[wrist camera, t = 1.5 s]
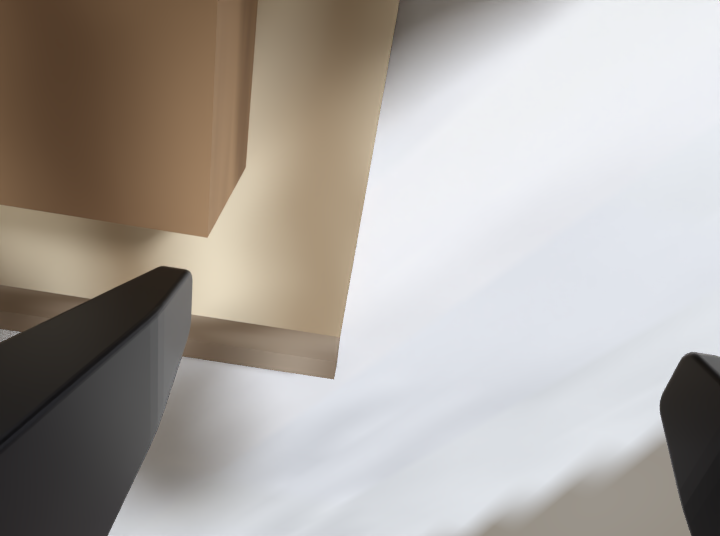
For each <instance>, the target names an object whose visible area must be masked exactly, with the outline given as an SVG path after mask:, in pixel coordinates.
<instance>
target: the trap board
mask: <svg viewBox="0 0 720 536" xmlns="http://www.w3.org/2000/svg"><path fill="white" fill-rule="evenodd" d="M399 2H400V0H258V7H257V20H256V34H255V48H254V62H253V76H252V90H251V103H250V117H249V131H248V145H247V159H246V168H245V170H244V172H243V174H242V176H241V177H240V179H239V181H238V183H237V185H236V187H235V188H234V190H233V192H232V194H231V196H230V198H229V199H228V201H227V203H226V205H225V207H224V209H223V210H222V212H221V214H220V216H219V218H218V220H217V221H216V223H215V225H214V227H213V229H212V231H211V233H210V234H209V236H208V238H206V237H199V236H193V235H187V234H181V233H174V232H168V231H162V230H155V229H149V228H143V227H137V226H130V225H124V224H118V223H112V222H105V221H99V220H93V219H87V218H80V217H74V216H68V215H62V214H55V213H49V212H43V211H37V210H30V209H24V208H18V207H12V206H5V205H0V329H6V330H12V331H19V332H23V331H25V330H27V329H29V328H31V327H34V326H36V325H38V324H40V323H42V322H44V321H46V320H48V319H50V318H52V317H54V316H57V315H59V314H61V313H63V312H65V311H67V310H69V309H71V308H73V307H75V306H77V305H80V304H82V303H84V302H86V301H88V300H90V299H92V298H94V297H96V296H98V295H100V294H103V293H105V292H107V291H109V290H111V289H113V288H115V287H117V286H119V285H121V284H123V283H126V282H128V281H130V280H132V279H134V278H136V277H138V276H140V275H142V274H144V273H146V272H148V271H151V270H153V269H155V268H157V267H160V266H168V267H175V268H181V269H186V270H189V271H190V272H191V274H192V279H193V284H192V311H191V326H190V331H189V335H188V339H187V342H186V345H185V348H184V351H183V354H182V356H184V357H191V358H197V359H204V360H210V361H217V362H224V363H230V364H237V365H243V366H250V367H257V368H263V369H270V370H276V371H283V372H289V373H296V374H303V375H309V376H316V377H322V378H329V379H334V376H335V370H336V365H337V358H338V349H339V341H340V334H341V328H342V323H343V317H344V311H345V306H346V300H347V294H348V289H349V283H350V278H351V272H352V266H353V261H354V255H355V249H356V244H357V238H358V232H359V227H360V221H361V216H362V210H363V204H364V199H365V193H366V187H367V182H368V176H369V170H370V165H371V159H372V154H373V148H374V142H375V137H376V131H377V125H378V120H379V114H380V109H381V103H382V97H383V92H384V86H385V80H386V75H387V69H388V63H389V58H390V52H391V47H392V41H393V35H394V30H395V24H396V18H397V13H398V7H399Z"/></svg>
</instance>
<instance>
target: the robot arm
mask: <svg viewBox="0 0 720 536" xmlns="http://www.w3.org/2000/svg"><path fill="white" fill-rule="evenodd" d="M192 284H193V279H192V274H191V272H190V271H189V270H186V269H181V268H175V267H168V266H160V267H157V268H155V269H153V270H151V271H148V272H146V273H144V274H142V275H140V276H138V277H136V278H134V279H132V280H130V281H128V282H126V283H123V284H121V285H119V286H117V287H115V288H113V289H111V290H109V291H107V292H105V293H103V294H100V295H98V296H96V297H94V298H92V299H90V300H88V301H86V302H84V303H82V304H80V305H77V306H75V307H73V308H71V309H69V310H67V311H65V312H63V313H61V314H59V315H57V316H54V317H52V318H50V319H48V320H46V321H44V322H42V323H40V324H38V325H36V326H34V327H31V328H29V329H27V330H25V331H23V332H21V333H19V334H17V335H15V336H13V337H11V338H8V339H6V340H4V341H2V342H0V536H108V534H109V532H110V530H111V528H112V526H113V523H114V521H115V519H116V517H117V515H118V513H119V511H120V509H121V507H122V504H123V502H124V500H125V498H126V496H127V494H128V492H129V490H130V488H131V485H132V483H133V481H134V479H135V477H136V475H137V473H138V471H139V469H140V467H141V464H142V462H143V460H144V458H145V456H146V454H147V452H148V450H149V448H150V445H151V443H152V441H153V439H154V436H155V434H156V432H157V429H158V427H159V424H160V421H161V418H162V415H163V412H164V409H165V406H166V403H167V400H168V397H169V394H170V391H171V388H172V385H173V382H174V379H175V376H176V373H177V370H178V366H179V363H180V360H181V357H182V354H183V351H184V348H185V345H186V342H187V339H188V335H189V331H190V326H191V311H192ZM660 415H661V419H662V423H663V428H664V432H665V437H666V441H667V445H668V450H669V454H670V458H671V463H672V467H673V471H674V476H675V480H676V485H677V488H678V493H679V497H680V501H681V505H682V508H683V512H684V515H685V518H686V521H687V524H688V527H689V530H690V533H691V536H720V357H718V356H715V355H709V354H703V353H697V352H690V353H687V354H686V355H684V356H683V357H682V359H681V360H680V362H679V364H678V366H677V367H676V369H675V371H674V373H673V375H672V377H671V379H670V380H669V382H668V384H667V386H666V388H665V390H664V392H663V394H662V396H661V400H660Z"/></svg>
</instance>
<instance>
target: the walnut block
mask: <svg viewBox="0 0 720 536" xmlns="http://www.w3.org/2000/svg"><path fill="white" fill-rule="evenodd" d="M257 7H258V0H0V205H5V206H12V207H18V208H24V209H30V210H37V211H43V212H49V213H55V214H62V215H68V216H74V217H80V218H87V219H93V220H99V221H105V222H112V223H118V224H124V225H130V226H137V227H143V228H149V229H155V230H162V231H168V232H174V233H181V234H187V235H193V236H199V237H206V238H208V236H209V234H210V233H211V231H212V229H213V227H214V225H215V223H216V221H217V220H218V218H219V216H220V214H221V212H222V210H223V209H224V207H225V205H226V203H227V201H228V199H229V198H230V196H231V194H232V192H233V190H234V188H235V187H236V185H237V183H238V181H239V179H240V177H241V176H242V174H243V172H244V170H245V168H246V159H247V145H248V131H249V117H250V103H251V90H252V76H253V62H254V48H255V34H256V20H257Z"/></svg>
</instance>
